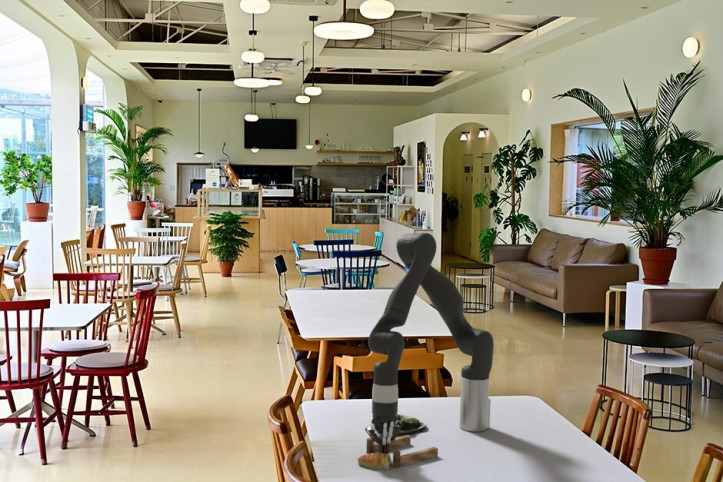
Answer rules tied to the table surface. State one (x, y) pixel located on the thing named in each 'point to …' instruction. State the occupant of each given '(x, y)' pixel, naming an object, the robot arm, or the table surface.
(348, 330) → the table surface
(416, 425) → the salad plate
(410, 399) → the table surface
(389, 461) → the pastry
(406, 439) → the pair of wooden bars
